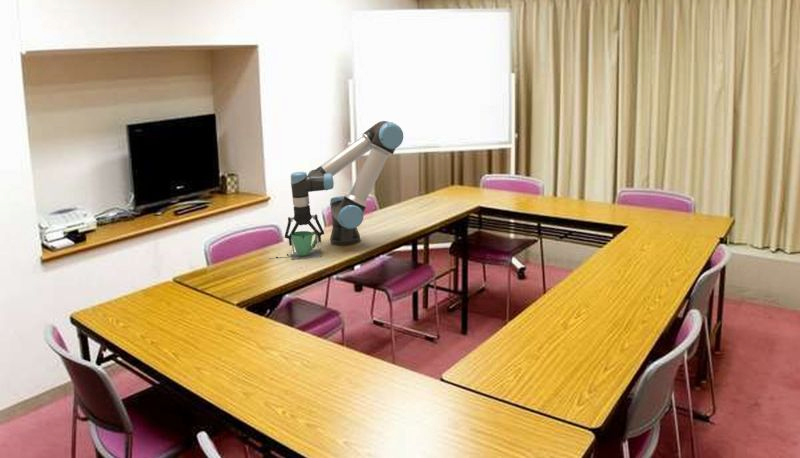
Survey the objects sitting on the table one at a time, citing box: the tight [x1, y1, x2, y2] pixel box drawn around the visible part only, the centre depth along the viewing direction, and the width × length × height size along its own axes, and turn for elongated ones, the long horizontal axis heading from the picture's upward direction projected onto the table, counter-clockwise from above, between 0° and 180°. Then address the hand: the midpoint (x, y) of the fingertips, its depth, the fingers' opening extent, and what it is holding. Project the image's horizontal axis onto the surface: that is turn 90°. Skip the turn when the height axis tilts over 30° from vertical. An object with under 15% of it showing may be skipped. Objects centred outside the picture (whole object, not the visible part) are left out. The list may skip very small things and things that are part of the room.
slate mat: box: [290, 248, 323, 261], centre depth 324 cm, size 14×14×1 cm
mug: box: [291, 230, 317, 256], centre depth 322 cm, size 15×10×10 cm
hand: (306, 250), depth 323 cm, fingers closed on mug, 11 cm apart
